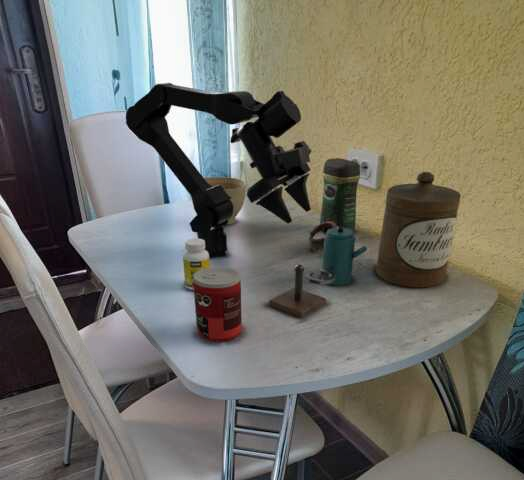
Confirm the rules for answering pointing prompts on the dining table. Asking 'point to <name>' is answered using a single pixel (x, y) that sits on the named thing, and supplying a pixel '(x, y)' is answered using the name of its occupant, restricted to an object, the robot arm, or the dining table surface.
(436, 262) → the wooden container
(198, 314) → the canned food
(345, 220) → the coffee jar
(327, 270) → the kettle
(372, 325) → the dining table surface
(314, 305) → the wooden peg stand
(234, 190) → the planter bowl
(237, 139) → the robot arm
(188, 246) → the supplement bottle
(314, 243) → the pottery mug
